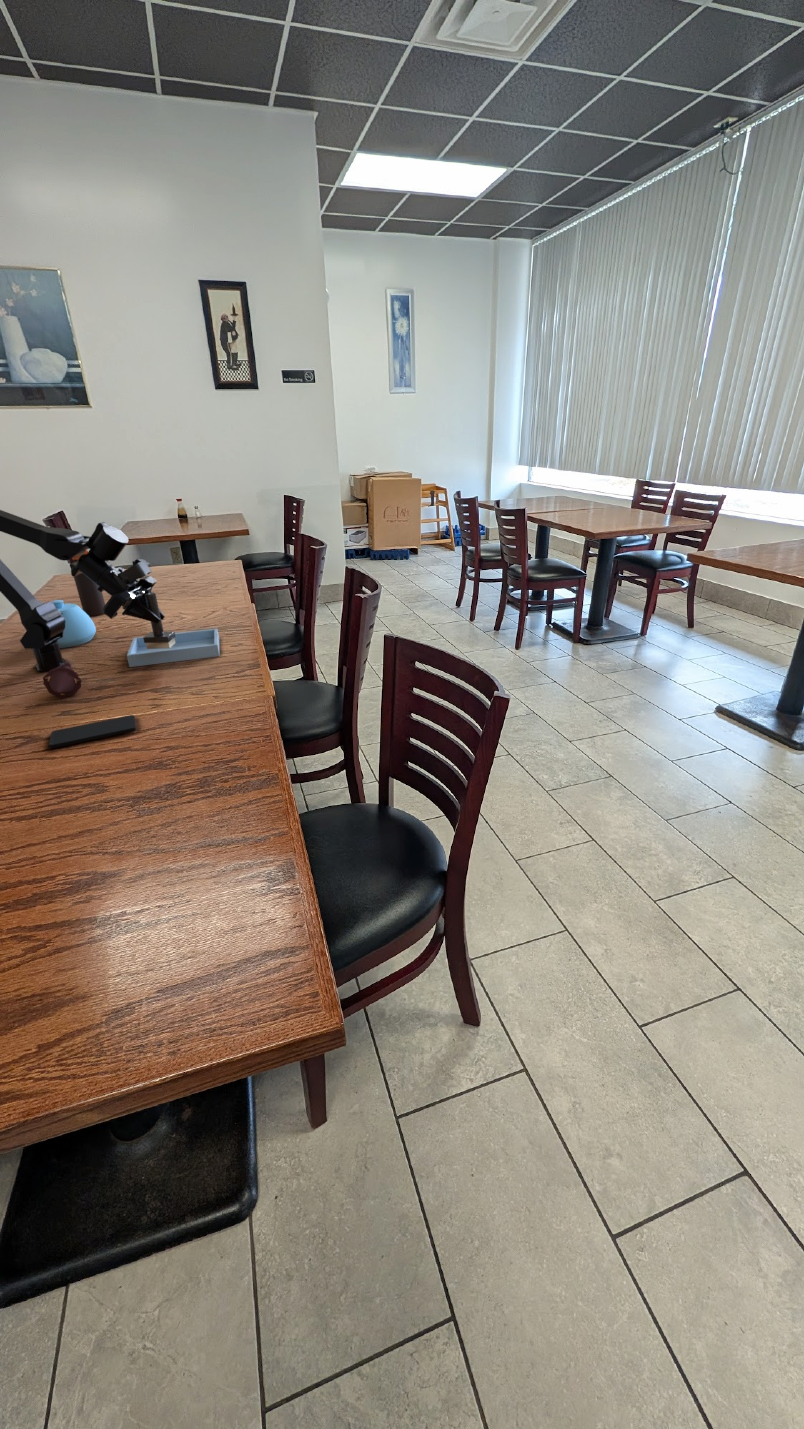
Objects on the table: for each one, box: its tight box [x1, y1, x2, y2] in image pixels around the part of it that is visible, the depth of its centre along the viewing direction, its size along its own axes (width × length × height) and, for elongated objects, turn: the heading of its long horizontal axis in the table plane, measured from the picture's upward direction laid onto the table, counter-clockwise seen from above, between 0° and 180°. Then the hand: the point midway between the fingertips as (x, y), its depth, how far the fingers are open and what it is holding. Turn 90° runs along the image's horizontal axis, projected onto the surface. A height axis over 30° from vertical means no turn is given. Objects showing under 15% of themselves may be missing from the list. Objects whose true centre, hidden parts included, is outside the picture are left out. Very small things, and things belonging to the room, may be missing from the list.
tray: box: [126, 628, 220, 668], centre depth 153 cm, size 22×15×3 cm
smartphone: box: [48, 714, 137, 749], centre depth 112 cm, size 7×1×15 cm
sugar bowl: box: [51, 599, 97, 649], centre depth 163 cm, size 15×15×12 cm
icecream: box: [42, 661, 82, 698], centre depth 129 cm, size 7×7×15 cm
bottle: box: [71, 549, 106, 617], centre depth 187 cm, size 7×7×20 cm
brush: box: [142, 592, 176, 649], centre depth 141 cm, size 6×4×13 cm
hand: (161, 620), depth 141 cm, fingers closed on brush, 2 cm apart
